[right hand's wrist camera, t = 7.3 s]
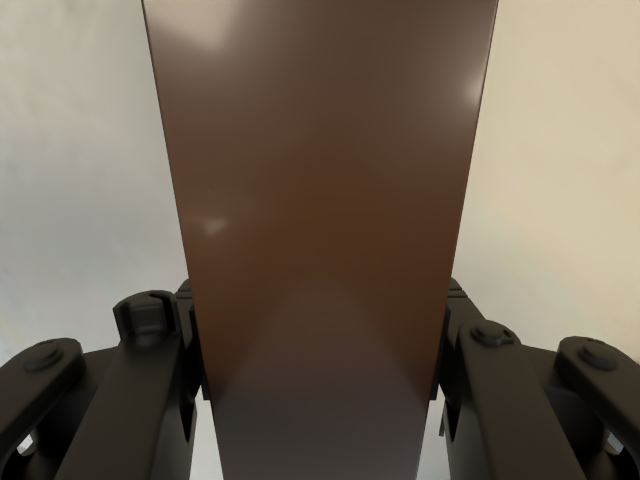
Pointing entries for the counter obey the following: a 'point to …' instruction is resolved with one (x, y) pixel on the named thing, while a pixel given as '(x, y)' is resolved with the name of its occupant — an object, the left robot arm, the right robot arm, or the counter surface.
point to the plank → (319, 215)
